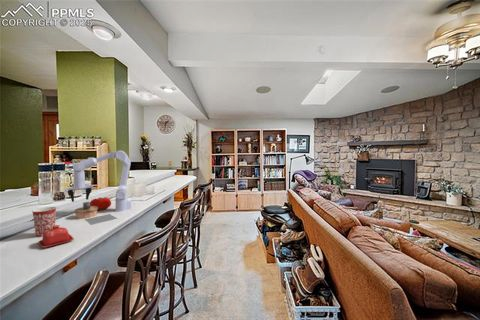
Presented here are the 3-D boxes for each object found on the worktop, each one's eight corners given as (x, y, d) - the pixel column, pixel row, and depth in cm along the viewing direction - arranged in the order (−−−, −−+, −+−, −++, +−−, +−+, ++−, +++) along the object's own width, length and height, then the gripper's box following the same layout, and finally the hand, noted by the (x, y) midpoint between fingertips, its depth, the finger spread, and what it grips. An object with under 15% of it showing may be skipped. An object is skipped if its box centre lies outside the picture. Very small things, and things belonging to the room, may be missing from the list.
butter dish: (69, 235, 105) (68, 219, 104) (74, 241, 97) (74, 224, 97) (37, 243, 96) (37, 225, 95) (41, 251, 88) (41, 232, 88)
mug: (52, 236, 103) (51, 210, 102) (29, 238, 100) (27, 212, 99) (63, 227, 115) (62, 204, 114) (42, 229, 111) (41, 205, 111)
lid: (94, 207, 141) (94, 199, 141) (101, 211, 134) (100, 202, 133) (72, 212, 132) (72, 203, 131) (77, 215, 124) (77, 206, 124)
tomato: (113, 206, 159) (113, 195, 158) (110, 210, 147) (109, 198, 147) (92, 207, 154) (92, 196, 153) (87, 212, 142) (87, 200, 142)
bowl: (94, 213, 141) (93, 206, 141) (99, 216, 134) (99, 209, 133) (74, 217, 132) (73, 210, 132) (78, 220, 125) (78, 213, 125)
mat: (109, 214, 137) (109, 214, 137) (117, 219, 128) (117, 218, 128) (84, 220, 126) (84, 219, 126) (91, 225, 117) (91, 224, 117)
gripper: (66, 182, 126) (67, 203, 126) (94, 179, 137) (94, 199, 138) (64, 181, 130) (65, 201, 131) (91, 178, 142) (91, 197, 142)
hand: (80, 200), depth 135 cm, fingers open, 7 cm apart
